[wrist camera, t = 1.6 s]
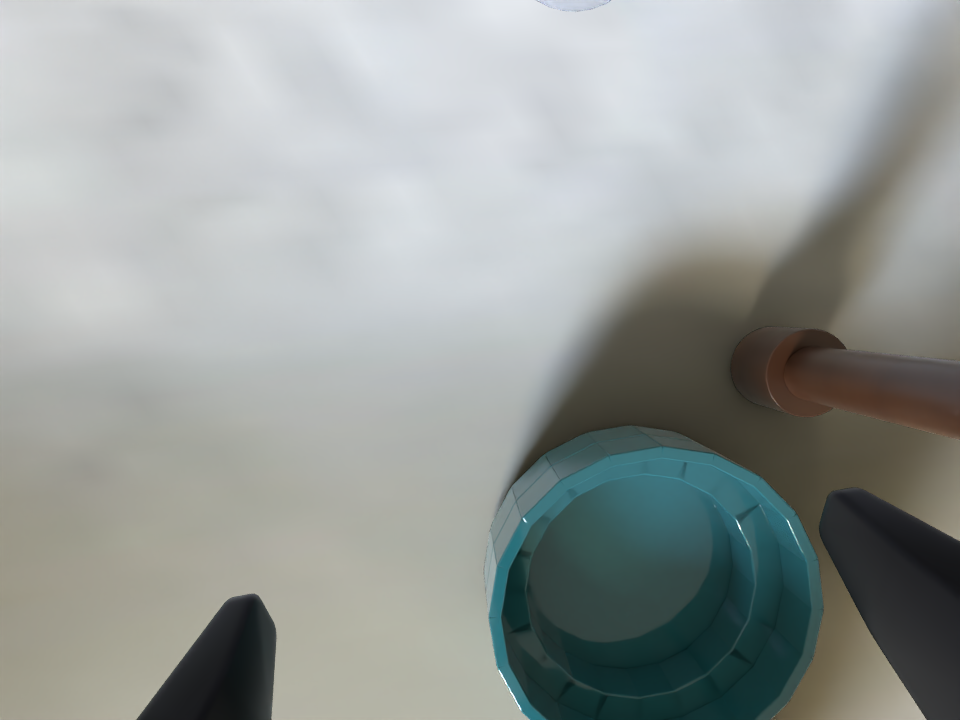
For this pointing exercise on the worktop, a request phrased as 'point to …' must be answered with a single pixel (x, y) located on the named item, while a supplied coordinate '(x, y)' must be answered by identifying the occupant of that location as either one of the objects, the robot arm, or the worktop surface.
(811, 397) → the post
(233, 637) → the robot arm
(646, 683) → the bowl
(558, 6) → the plastic bottle
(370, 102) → the worktop surface
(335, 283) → the worktop surface
